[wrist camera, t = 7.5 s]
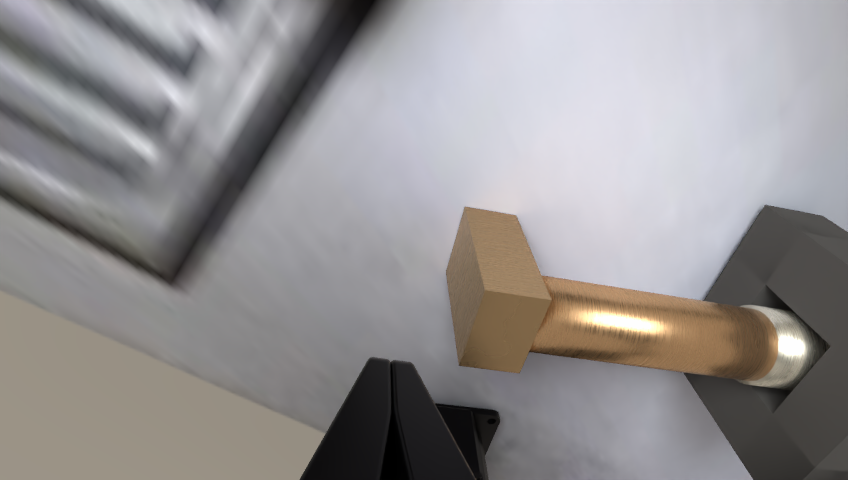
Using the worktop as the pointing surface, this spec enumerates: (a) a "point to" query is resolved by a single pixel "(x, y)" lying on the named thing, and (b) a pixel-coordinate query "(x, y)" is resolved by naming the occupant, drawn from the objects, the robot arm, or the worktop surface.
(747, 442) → the dark grey square ring
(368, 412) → the robot arm
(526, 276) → the square head rod
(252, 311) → the worktop surface
